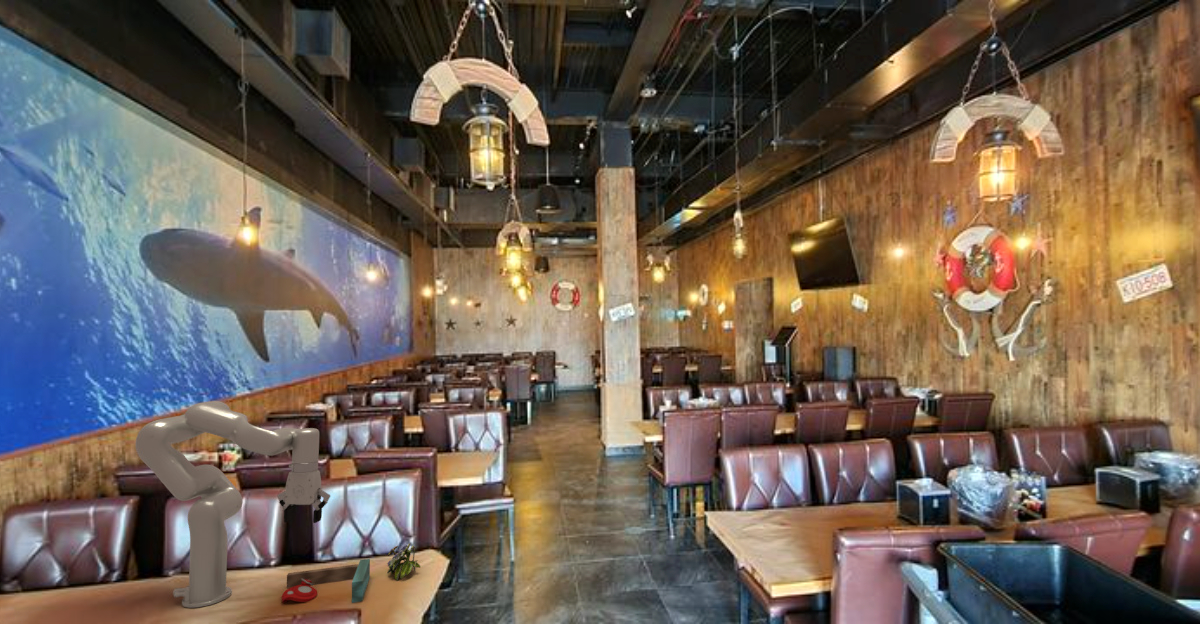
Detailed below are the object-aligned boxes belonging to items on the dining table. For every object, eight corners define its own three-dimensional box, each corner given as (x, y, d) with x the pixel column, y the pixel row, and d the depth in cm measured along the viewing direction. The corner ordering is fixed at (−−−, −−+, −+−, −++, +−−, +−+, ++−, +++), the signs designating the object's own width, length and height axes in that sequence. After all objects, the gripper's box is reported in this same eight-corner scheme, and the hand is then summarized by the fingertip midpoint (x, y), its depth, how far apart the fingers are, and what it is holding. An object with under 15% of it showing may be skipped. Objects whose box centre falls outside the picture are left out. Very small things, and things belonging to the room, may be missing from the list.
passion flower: (393, 589, 183) (392, 553, 190) (425, 580, 185) (423, 545, 192) (382, 582, 174) (382, 544, 182) (416, 573, 176) (414, 536, 183)
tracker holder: (322, 594, 166) (287, 597, 160) (317, 608, 166) (282, 611, 159) (313, 574, 175) (280, 575, 169) (309, 587, 175) (275, 589, 168)
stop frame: (269, 615, 155) (269, 593, 156) (288, 585, 175) (288, 566, 176) (362, 601, 163) (362, 581, 163) (370, 574, 183) (370, 556, 183)
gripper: (271, 469, 170) (269, 524, 169) (323, 470, 169) (321, 525, 167) (287, 464, 178) (284, 517, 176) (337, 465, 176) (334, 518, 175)
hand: (302, 521), depth 172 cm, fingers open, 9 cm apart
